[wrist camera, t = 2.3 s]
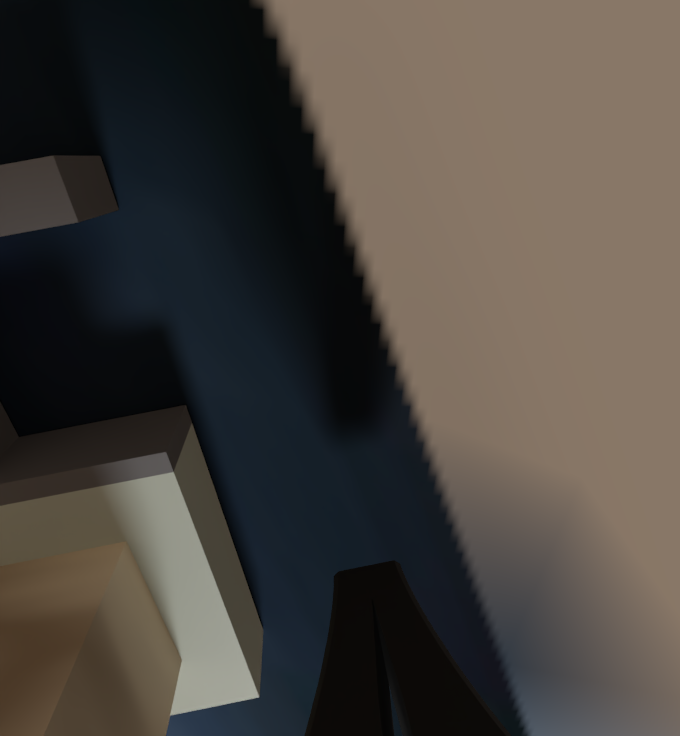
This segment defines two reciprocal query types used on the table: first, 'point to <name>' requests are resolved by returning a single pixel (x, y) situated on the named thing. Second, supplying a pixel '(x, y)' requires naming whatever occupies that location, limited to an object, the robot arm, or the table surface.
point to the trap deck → (128, 483)
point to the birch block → (83, 648)
